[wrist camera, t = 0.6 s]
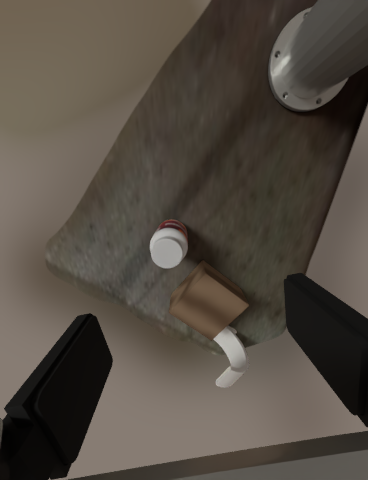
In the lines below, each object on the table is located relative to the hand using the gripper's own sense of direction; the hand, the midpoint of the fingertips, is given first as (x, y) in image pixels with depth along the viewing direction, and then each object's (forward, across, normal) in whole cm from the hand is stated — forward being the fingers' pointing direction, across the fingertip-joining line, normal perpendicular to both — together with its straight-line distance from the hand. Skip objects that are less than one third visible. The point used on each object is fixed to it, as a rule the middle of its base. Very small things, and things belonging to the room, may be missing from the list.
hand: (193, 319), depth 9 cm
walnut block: (+29, -2, +17) cm, 34 cm away
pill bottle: (+29, +3, +2) cm, 29 cm away
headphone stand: (+30, -4, +29) cm, 42 cm away
